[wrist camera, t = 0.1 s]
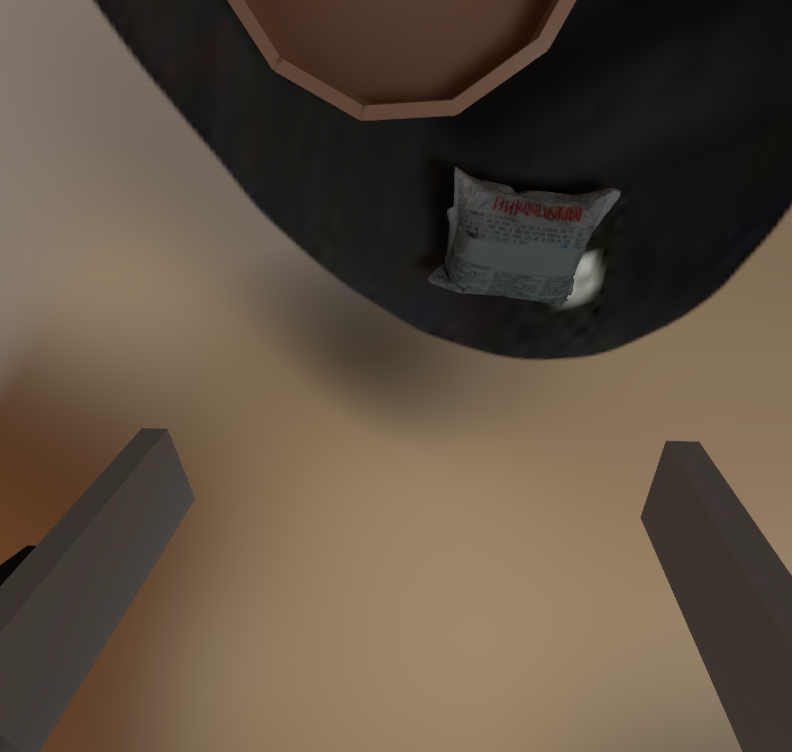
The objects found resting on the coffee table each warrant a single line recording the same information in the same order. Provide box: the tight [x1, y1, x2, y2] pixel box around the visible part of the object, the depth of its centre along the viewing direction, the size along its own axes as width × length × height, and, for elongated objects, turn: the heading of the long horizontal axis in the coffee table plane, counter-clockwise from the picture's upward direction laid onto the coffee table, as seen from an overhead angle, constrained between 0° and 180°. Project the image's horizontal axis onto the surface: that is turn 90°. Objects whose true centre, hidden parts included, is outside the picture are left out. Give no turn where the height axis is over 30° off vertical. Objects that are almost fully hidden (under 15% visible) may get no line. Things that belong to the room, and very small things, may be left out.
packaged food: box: [428, 167, 621, 306], centre depth 33 cm, size 9×12×5 cm
